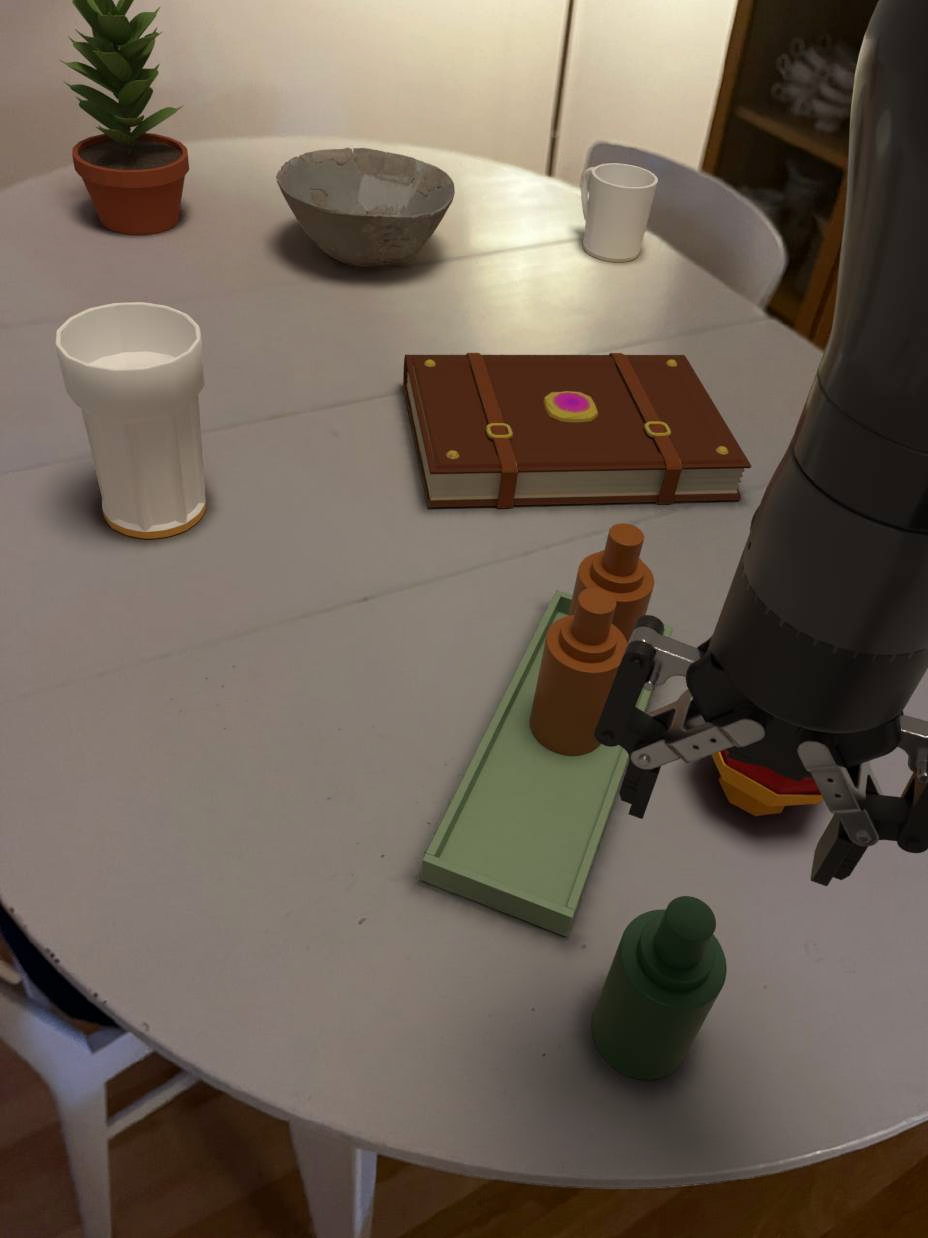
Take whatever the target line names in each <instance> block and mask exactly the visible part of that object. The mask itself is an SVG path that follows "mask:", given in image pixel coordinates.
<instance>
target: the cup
mask: <svg viewBox="0 0 928 1238" xmlns="http://www.w3.org/2000/svg"><path fill="white" fill-rule="evenodd" d="M201 332H202V331H201V326H200V325H199V324H198V323H197V322H196V321H195V320H193V318H192V317H191V316H190V315H188V313H187V312H186V313H185V312H183V311H180V310H178V309H175V308H173V307H171V306H168V305H163V304H156V303H152V302H151V303H150V302H144V301H136V302H135V301H134V302H133V301H131V302H113V303H107V304H103V305H98V306H94V307H89V308H86V309H85V310H82V311H80V312H79V313H76V314H74V315H72V316H71V317H68V319H66V321H64V323H62V324H61V326H60V327H59V328H58V329H57V330H56V331H55V343H54V346H55V351H56V355H57V359H58V362H59V366H60V367H59V368H60V371H61V374H62V378H63V379H62V380H63V383H64V387H65V390H66V393H67V395H68V396H69V397H70V398H71V400H72V401H73V403H74V404H75V405H76V406H77V407H78V408H80V411H81V414H82V419H83V422H84V427H85V432H86V435H87V439H88V444H89V448H90V452H91V456H92V460H93V465H94V468H95V473H96V478H97V482H98V486H99V487H98V488H99V491H100V496H101V507H102V508H101V510H102V514H103V518H104V520H105V521H106V523H107V524H108V525H109V527H110V528H111V529H113V530H114V531H116V532H118V533H120V534H123V535H125V536H127V537H128V536H129V537H134V538H138V539H143V540H149V539H152V540H153V539H163V538H168V537H171V536H175V535H178V534H181V533H184V532H187V531H188V530H189V529H191V528H192V527H194V526H195V525H196V524H198V522H200V521H201V520H202V517H204V516H203V515H204V514H205V513H206V510H207V502H206V485H205V473H204V457H203V443H202V442H203V441H202V428H201V414H200V413H201V412H200V400H199V394H200V393H201V391H202V390H203V388H204V387H205V374H204V372H205V371H204V357H203V343H202V341H203V340H202V334H201Z"/></svg>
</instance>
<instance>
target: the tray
mask: <svg viewBox="0 0 928 1238" xmlns="http://www.w3.org/2000/svg"><path fill="white" fill-rule="evenodd" d="M572 596H573V594H571V593H567V592H564V591H561V590H558V589H556V590H555V592H554V594H553V596H552V598H551V600H550V602H549V604H548V606H547V608H546V610H545V612H544V614H543V615H542V619H541V620H540V622H539V624H538V626H537V628H536V630H535V632H534V634H533V635H532V639H531V640H530V643H529V644H528V646H527V649H526V650H525V653H524V655H522V658H521V660H520V662H519V665H518V667H517V668H516V671H515V672H514V674H513V676H512V678H511V680H510V683H509V684H508V686H507V689H506V691H505V693H504V695H503V697H502V698H501V701H500V702H499V705H498V707H497V709H496V711H495V713H494V715H493V717H492V719H491V720H490V723H489V725H488V727H487V729H486V730H485V733H484V735H483V737H482V738H481V741H480V743H479V745H478V747H477V749H476V751H475V753H474V755H473V757H472V759H471V761H470V763H469V765H468V767H467V769H466V771H465V773H464V775H463V777H462V779H461V781H460V783H459V785H458V787H457V789H456V791H455V794H454V796H453V797H452V799H451V802H450V804H449V806H448V808H447V810H446V812H445V814H444V816H443V818H442V819H441V821H440V823H439V826H438V827H437V830H436V832H435V834H434V836H433V838H432V840H431V842H430V844H429V846H428V847H427V850H426V852H425V854H424V856H423V858H422V862H421V863H422V864H421V873H420V881H422V882H425V883H428V884H430V885H432V886H435V887H438V888H440V889H443V890H446V891H448V892H451V893H453V894H456V895H458V896H460V897H463V898H466V899H468V900H471V901H473V902H476V903H479V904H481V905H484V906H486V907H489V908H492V909H494V910H497V911H499V912H501V913H504V914H507V915H509V916H512V917H515V918H517V919H520V920H522V921H525V922H528V923H529V924H532V925H535V926H538V927H540V928H543V929H545V930H547V931H551V932H552V933H555V934H558V935H560V936H563V937H568V935H569V932H570V930H571V927H572V923H573V920H574V917H575V914H576V912H577V909H578V906H579V903H580V900H581V898H582V894H583V892H584V889H585V886H586V883H587V880H588V877H589V874H590V872H591V869H592V866H593V863H594V859H595V857H596V854H597V851H598V848H599V846H600V842H601V840H602V836H603V834H604V831H605V828H606V825H607V823H608V820H609V817H610V814H611V810H612V808H613V804H614V802H615V799H616V796H617V795H618V794H617V793H618V791H619V788H620V785H621V781H622V780H623V777H624V774H625V771H626V769H627V766H628V763H629V760H630V758H629V755H628V753H627V751H626V750H625V749H624V748H622V747H621V746H619V745H617V746H614V747H608V746H605V745H602V744H600V745H599V746H598V747H597V748H596V749H595V750H593V751H592V752H590V753H587V754H584V755H578V756H567V755H561V754H558V753H555V752H553V751H550V750H549V749H547V748H545V747H544V746H542V745H541V744H540V743H539V742H538V741H537V740H536V738H535V737H534V735H533V734H532V731H531V728H530V716H531V711H532V706H533V701H534V695H535V690H536V685H537V680H538V675H539V670H540V665H541V660H542V655H543V650H544V645H545V640H546V635H547V632H548V630H549V628H550V626H551V625H552V624H553V623H554V622H556V621H557V620H559V619H561V618H563V617H566V616H568V615H569V610H570V606H571V601H572ZM663 624H664V632H663V636H666V637H669V638H671V635H672V633H673V630H674V626H671V625H668V624H665V623H663ZM652 692H653V690H652V691H648V690H645V689H644V688H643V689H642V691H641V693H640V696H639V698H638V701H637V703H636V706H635V707H637V708H639V709H640V710H642V711H643V712H645V713H646V709H647V706H648V704H649V701H650V698H651V695H652Z"/></svg>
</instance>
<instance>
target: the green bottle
mask: <svg viewBox="0 0 928 1238" xmlns="http://www.w3.org/2000/svg"><path fill="white" fill-rule="evenodd" d="M716 927H717V919H716V916H715V913H714V911H713V910H712V909H711V908H710V905H708V904H707V903H706V902H704V900H701V899H699V898H697V897H694V896H690V895H683V896H682V895H681V896H677V897H676V898H674V899H672V900H670V902H669V903H668V905H667V906H666V908H665V909H652V910H650V911H645V912H644V913H641V914H639V915H638V916H636V917H635V918H633V919H632V920H631V921H630V922H629V923H628V924H627V926H626V927H625V929H624V930H623V933H622V935H621V938H620V940H619V943H618V946H617V949H616V952H615V954H614V956H613V960H612V962H611V964H610V967H609V970H608V972H607V975H606V977H605V981H604V982H603V986H602V989H601V991H600V994H599V996H598V999H597V1002H596V1004H595V1007H594V1010H593V1013H592V1017H591V1032H592V1036H593V1040H594V1043H595V1045H596V1048H597V1050H598V1051H599V1053H600V1054H601V1056H602V1057H603V1058H604V1059H605V1061H606V1062H607V1063H608V1064H609V1065H610V1066H612V1067H613V1069H615V1070H617V1071H618V1072H619V1073H621V1074H623V1075H625V1076H627V1077H631V1078H633V1079H638V1080H645V1081H648V1080H649V1081H651V1080H652V1081H653V1080H657V1079H661V1078H664V1077H667V1076H668V1075H671V1074H672V1073H673V1072H674V1071H676V1070H677V1069H678V1068H679V1067H680V1065H681V1064H682V1063H683V1061H684V1059H685V1057H686V1056H687V1053H688V1052H689V1050H690V1048H691V1046H692V1045H693V1043H694V1041H695V1039H696V1037H697V1035H698V1034H699V1032H700V1030H701V1028H702V1026H703V1025H704V1023H705V1021H706V1019H707V1017H708V1016H709V1013H710V1012H711V1009H712V1008H713V1006H714V1005H715V1002H716V1000H717V998H718V996H719V995H720V994H721V992H722V990H723V987H724V985H725V982H726V980H727V979H726V978H727V971H728V969H727V966H728V965H727V960H726V955H725V952H724V950H723V948H722V945H721V943H720V942H719V940H718V938H717V937H716V936H715V934H714V933H715V932H716Z"/></svg>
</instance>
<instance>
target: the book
mask: <svg viewBox="0 0 928 1238" xmlns="http://www.w3.org/2000/svg"><path fill="white" fill-rule="evenodd" d="M402 377H403V378H402V385H403V392H404V396H405V401H406V407H407V412H408V417H409V421H410V426H411V430H412V435H413V441H414V445H415V450H416V455H417V459H418V464H419V470H420V473H421V478H422V484H423V489H424V493H425V499H426V503H427V507H428V508H452V507H453V508H455V507H456V508H457V507H461V508H462V507H495V506H496V508H497V509H509V508H510V509H511V508H514V506H536V505H539V506H540V505H541V506H542V505H543V506H544V505H578V504H579V505H580V504H583V505H584V504H617V503H619V504H621V503H622V504H624V503H656V504H657V505H669V504H670V505H672V504H673V502H699V501H704V502H706V501H741V498H742V494H741V493H740V491H739V488H740V483H741V482H742V480H741V478H742V477H744V475H743V473H745V472H746V469H751V468H752V467H753V466H752V464H751V463H750V461H749V459H748V458H747V456H746V454H745V452H744V450H743V449H742V448H741V446H740V444H739V442H738V441H737V439H736V437H735V436H734V434H733V432H732V431H731V429H730V427H729V426H728V424H727V423H726V421H725V420H724V418H723V416H722V414H721V413H720V410H719V409H718V407H717V406H716V405H715V403H714V401H713V399H712V398H711V395H710V394H709V393H708V391H707V390H706V388H705V386H704V384H703V383H702V381H701V379H700V378H699V376H698V375H697V372H696V371H695V370H694V368H693V366H692V365H691V363H690V361H689V359H688V357H687V356H686V355H685V354H624V353H622V352H609V354H481V353H480V352H466V354H404V357H403V376H402Z"/></svg>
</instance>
